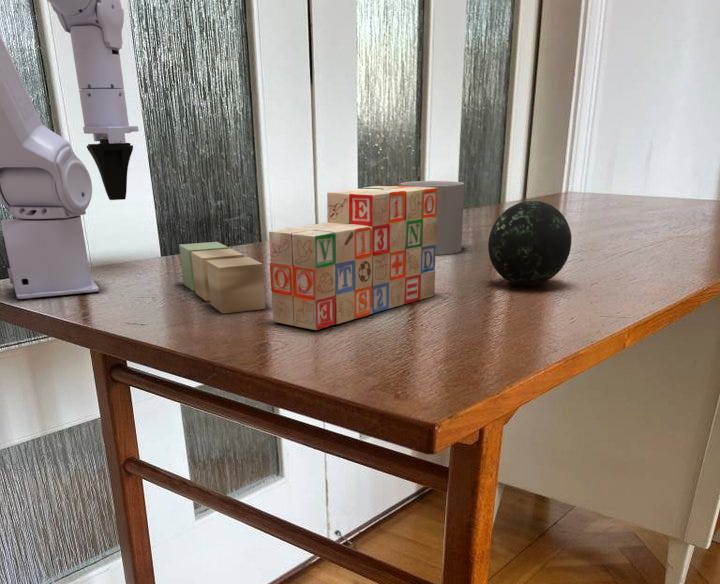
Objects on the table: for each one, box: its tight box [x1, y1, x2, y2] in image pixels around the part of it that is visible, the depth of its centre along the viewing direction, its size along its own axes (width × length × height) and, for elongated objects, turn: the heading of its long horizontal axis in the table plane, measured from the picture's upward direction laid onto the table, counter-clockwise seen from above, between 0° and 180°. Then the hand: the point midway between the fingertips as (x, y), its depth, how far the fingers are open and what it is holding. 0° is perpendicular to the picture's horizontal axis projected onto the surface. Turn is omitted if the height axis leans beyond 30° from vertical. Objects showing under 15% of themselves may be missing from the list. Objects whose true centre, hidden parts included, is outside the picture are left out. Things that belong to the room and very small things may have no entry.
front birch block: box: [206, 256, 266, 315], centre depth 85 cm, size 5×5×5 cm
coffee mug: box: [399, 180, 465, 256], centre depth 120 cm, size 13×10×10 cm
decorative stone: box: [487, 200, 572, 287], centre depth 93 cm, size 10×10×10 cm
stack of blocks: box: [268, 185, 438, 331], centre depth 82 cm, size 21×6×12 cm, turn 141°
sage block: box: [178, 241, 229, 292], centre depth 96 cm, size 5×5×5 cm
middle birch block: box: [191, 248, 245, 302], centre depth 90 cm, size 5×5×5 cm
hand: (117, 199), depth 105 cm, fingers closed
